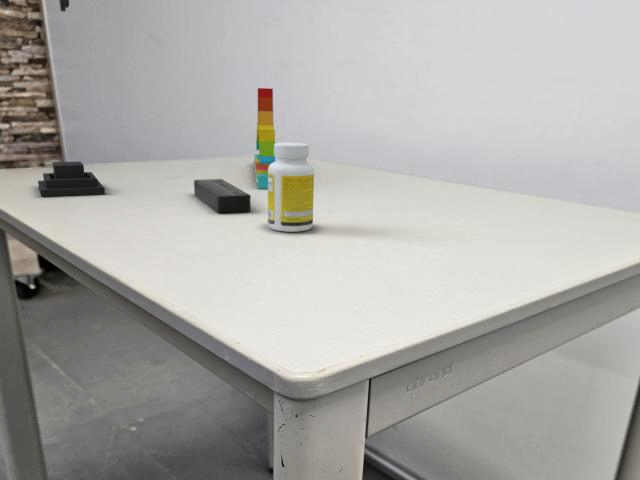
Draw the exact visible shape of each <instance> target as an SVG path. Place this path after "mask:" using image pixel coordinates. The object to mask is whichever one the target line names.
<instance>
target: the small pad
mask: <svg viewBox="0 0 640 480" xmlns="http://www.w3.org/2000/svg"><path fill="white" fill-rule="evenodd" d="M52 170H53V173H54V179H75V178H85V174H84V172H85V166H84V164H83V162H82V161H52Z"/></svg>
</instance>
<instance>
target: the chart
mask: <svg viewBox="0 0 640 480" xmlns="http://www.w3.org/2000/svg"><path fill="white" fill-rule="evenodd" d="M275 143H276V130H275V126H274V89H273V88H269V87H268V88H266V87H265V88H264V87H258V88H257V122H256V140H255V150H256V151H258V154H254V158H253V168H254V176H255V183H256V185H257V189H264V190H268V167H269V165H270V164H271V163H273V162H275V161H276V157H275V156H274V155H275V154H274V144H275Z"/></svg>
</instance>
